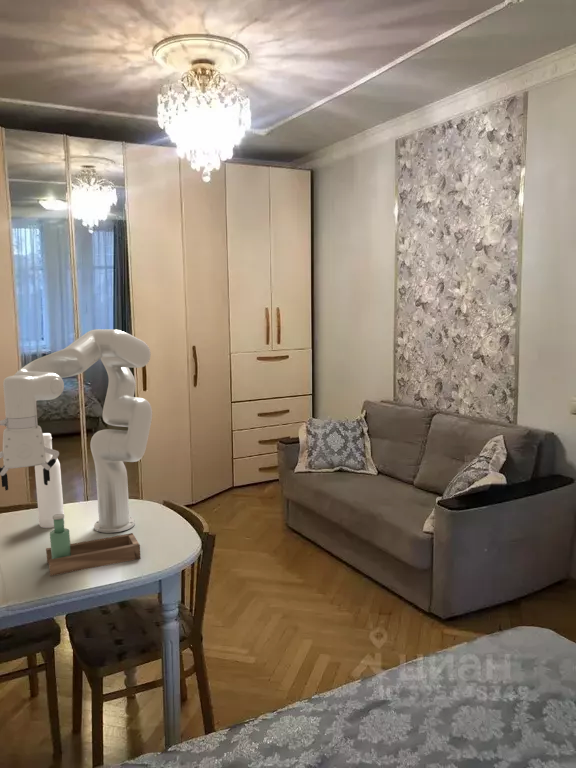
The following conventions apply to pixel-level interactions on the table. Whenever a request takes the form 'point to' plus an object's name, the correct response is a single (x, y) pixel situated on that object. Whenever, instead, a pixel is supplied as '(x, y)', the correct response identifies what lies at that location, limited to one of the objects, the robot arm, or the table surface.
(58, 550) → the bottle
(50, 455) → the bottle
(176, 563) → the table surface
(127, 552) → the u rest
